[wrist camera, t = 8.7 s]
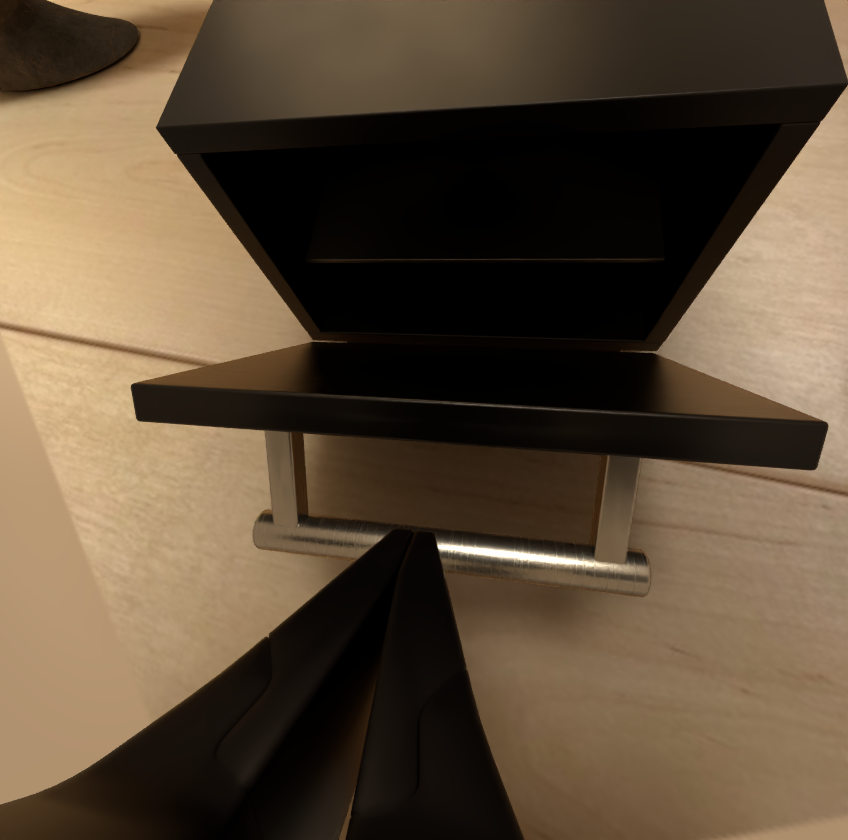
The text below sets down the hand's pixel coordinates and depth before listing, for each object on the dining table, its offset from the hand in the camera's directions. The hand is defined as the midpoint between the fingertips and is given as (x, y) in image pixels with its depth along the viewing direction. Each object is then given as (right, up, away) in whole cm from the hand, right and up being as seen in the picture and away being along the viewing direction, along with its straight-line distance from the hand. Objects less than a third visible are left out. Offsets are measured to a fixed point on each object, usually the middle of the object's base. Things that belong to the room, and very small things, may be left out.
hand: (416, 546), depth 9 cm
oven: (+4, +11, +15) cm, 19 cm away
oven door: (+2, +3, +11) cm, 12 cm away
